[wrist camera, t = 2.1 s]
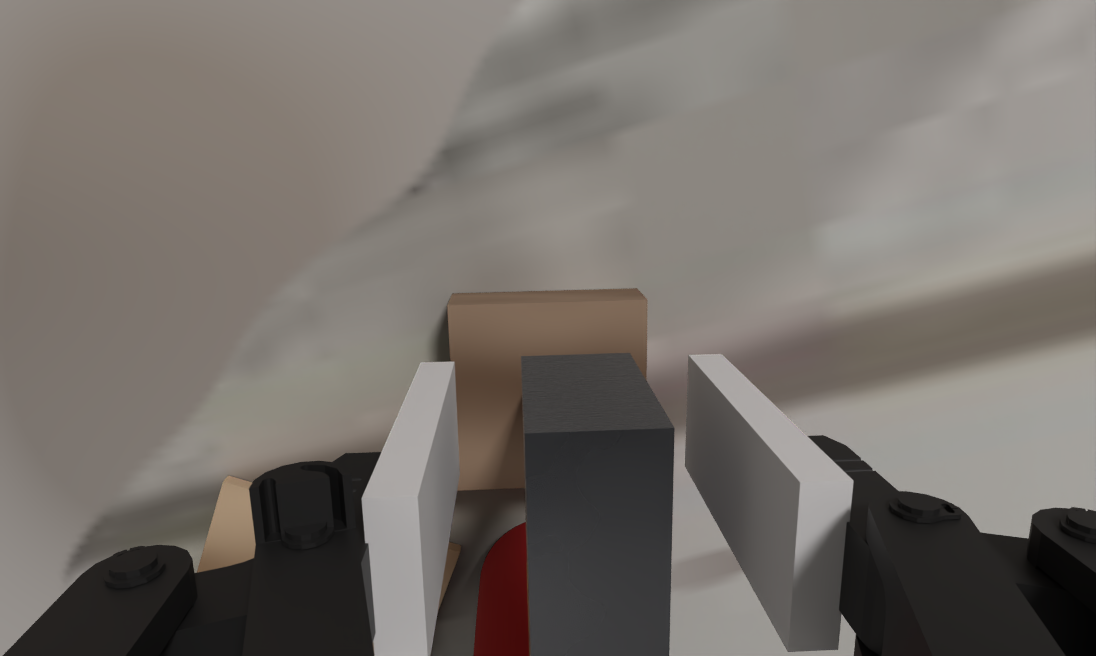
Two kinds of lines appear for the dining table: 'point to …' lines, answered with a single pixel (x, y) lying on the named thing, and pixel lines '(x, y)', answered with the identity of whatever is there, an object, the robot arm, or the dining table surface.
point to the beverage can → (504, 598)
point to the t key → (596, 507)
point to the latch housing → (495, 363)
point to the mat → (237, 540)
